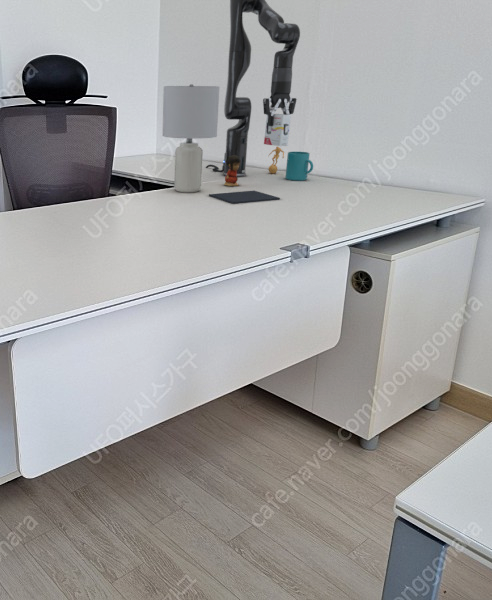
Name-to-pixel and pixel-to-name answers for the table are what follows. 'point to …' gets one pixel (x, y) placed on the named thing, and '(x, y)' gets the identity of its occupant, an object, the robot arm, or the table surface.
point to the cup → (298, 166)
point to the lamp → (189, 128)
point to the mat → (244, 197)
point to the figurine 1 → (232, 170)
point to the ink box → (278, 130)
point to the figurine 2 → (273, 167)
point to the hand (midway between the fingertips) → (277, 125)
